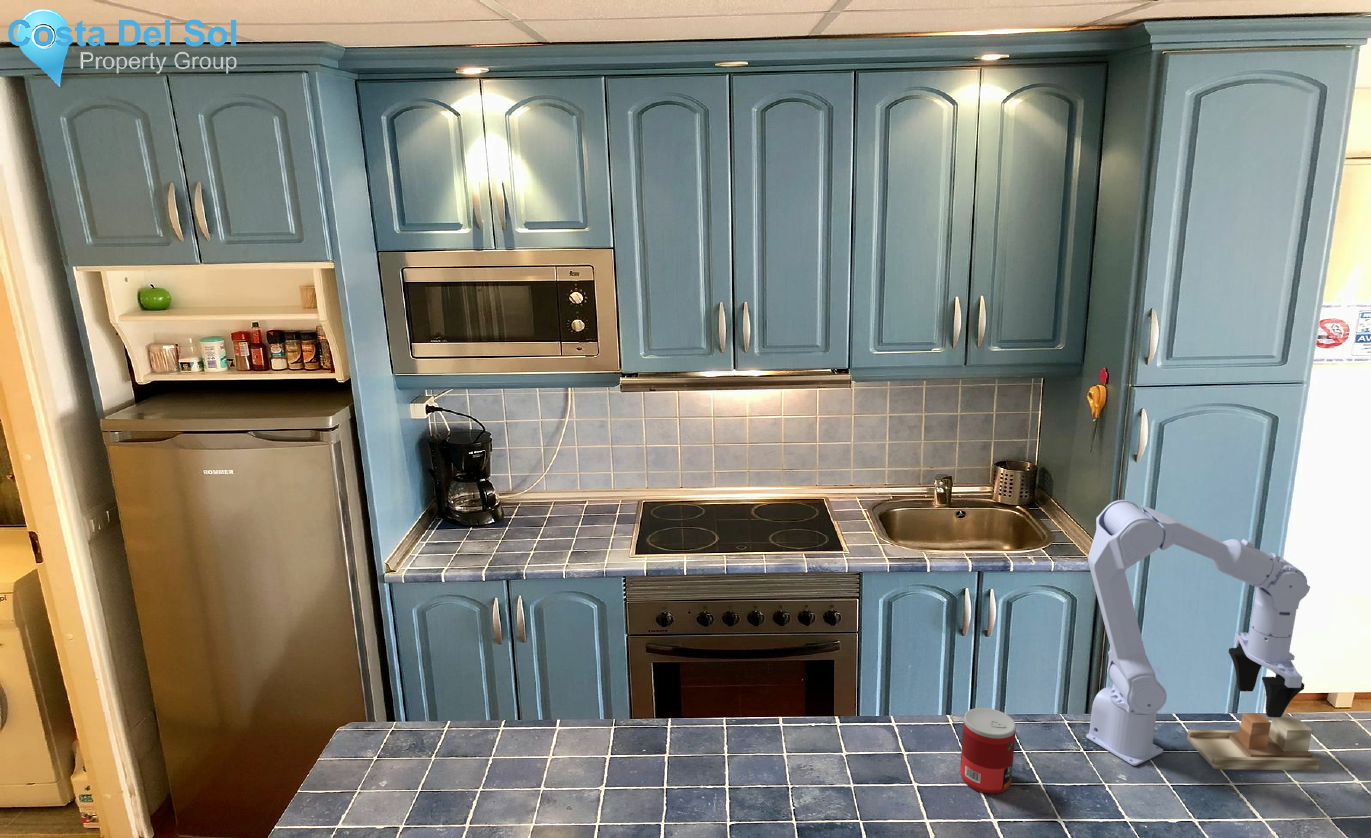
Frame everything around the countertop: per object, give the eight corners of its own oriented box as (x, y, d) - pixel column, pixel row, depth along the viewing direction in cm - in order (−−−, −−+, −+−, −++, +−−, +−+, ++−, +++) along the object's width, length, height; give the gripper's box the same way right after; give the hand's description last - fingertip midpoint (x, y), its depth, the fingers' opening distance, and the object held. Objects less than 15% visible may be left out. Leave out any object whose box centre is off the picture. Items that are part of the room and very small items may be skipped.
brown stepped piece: (1250, 759, 142) (1255, 728, 141) (1229, 738, 148) (1233, 707, 147) (1311, 760, 142) (1317, 728, 140) (1287, 738, 148) (1293, 707, 146)
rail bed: (1214, 769, 141) (1215, 759, 141) (1186, 738, 150) (1188, 729, 149) (1318, 770, 141) (1320, 760, 140) (1285, 739, 149) (1286, 730, 149)
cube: (1283, 751, 143) (1287, 730, 142) (1268, 736, 147) (1272, 716, 146) (1308, 751, 143) (1312, 730, 142) (1292, 736, 146) (1296, 716, 145)
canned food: (1014, 798, 135) (1020, 737, 133) (962, 792, 137) (966, 731, 134) (1006, 767, 143) (1011, 709, 140) (957, 762, 144) (961, 704, 142)
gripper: (1327, 651, 132) (1313, 728, 136) (1268, 609, 146) (1256, 679, 150) (1280, 651, 133) (1268, 728, 136) (1226, 609, 147) (1216, 679, 150)
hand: (1259, 702), depth 143 cm, fingers open, 7 cm apart
